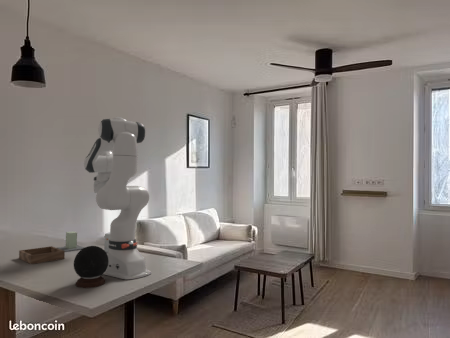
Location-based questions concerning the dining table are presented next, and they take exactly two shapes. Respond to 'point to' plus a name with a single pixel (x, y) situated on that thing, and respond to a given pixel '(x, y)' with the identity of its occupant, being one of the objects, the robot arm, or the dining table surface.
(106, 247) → the small box
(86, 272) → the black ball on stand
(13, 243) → the dining table surface
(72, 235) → the green block
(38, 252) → the walnut crate
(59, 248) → the rubber mat
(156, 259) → the dining table surface
